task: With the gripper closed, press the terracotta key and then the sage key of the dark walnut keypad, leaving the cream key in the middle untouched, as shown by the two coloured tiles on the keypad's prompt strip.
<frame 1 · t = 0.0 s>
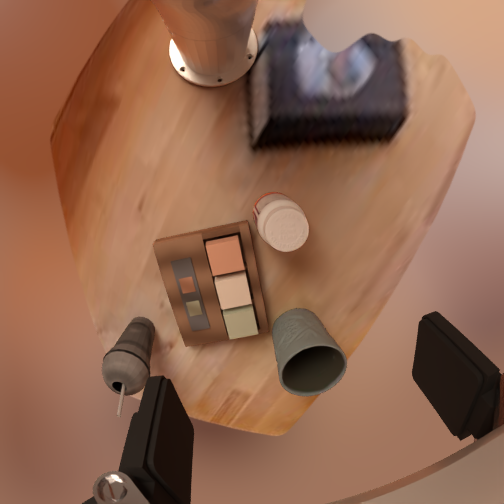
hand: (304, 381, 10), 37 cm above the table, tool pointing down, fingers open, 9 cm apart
key sage: (240, 321, 47), point 3 cm above the table, slide at 0.0 cm
key cream: (233, 290, 45), point 4 cm above the table, slide at 0.0 cm
grey green cup: (297, 328, 53), on the table
beverage cup: (142, 327, 50), on the table
pill bottle: (272, 211, 46), on the table
key terracotta: (225, 255, 43), point 3 cm above the table, slide at 0.0 cm
keypad board: (214, 284, 49), on the table
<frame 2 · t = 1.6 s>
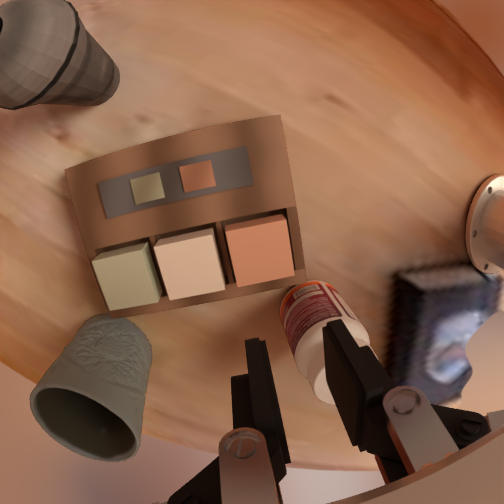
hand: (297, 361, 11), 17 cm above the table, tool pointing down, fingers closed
key sage: (127, 277, 24), point 3 cm above the table, slide at 0.0 cm
key cream: (190, 264, 24), point 3 cm above the table, slide at 0.0 cm
grey green cup: (116, 347, 30), on the table
beverage cup: (98, 82, 22), on the table
pill bottle: (309, 305, 30), on the table
key terracotta: (259, 250, 24), point 4 cm above the table, slide at 0.0 cm
keypad board: (186, 218, 26), on the table
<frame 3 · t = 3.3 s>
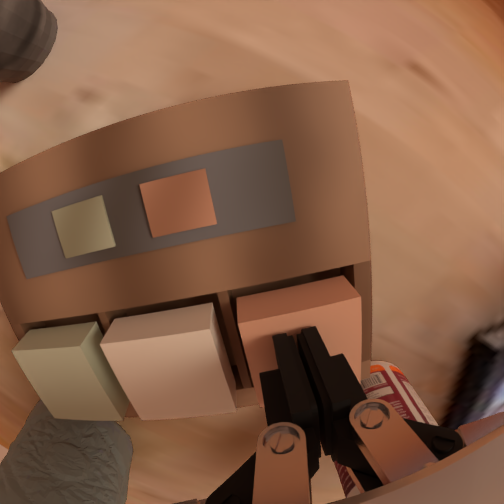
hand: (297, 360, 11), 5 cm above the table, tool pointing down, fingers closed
key sage: (71, 375, 12), point 4 cm above the table, slide at 0.0 cm
key cream: (173, 367, 12), point 3 cm above the table, slide at 0.0 cm
grey green cup: (85, 432, 19), on the table
beverage cup: (26, 45, 10), on the table
pill bottle: (359, 390, 18), on the table
key terracotta: (302, 344, 12), point 3 cm above the table, slide at 0.0 cm, touching gripper
keypad board: (166, 272, 15), on the table
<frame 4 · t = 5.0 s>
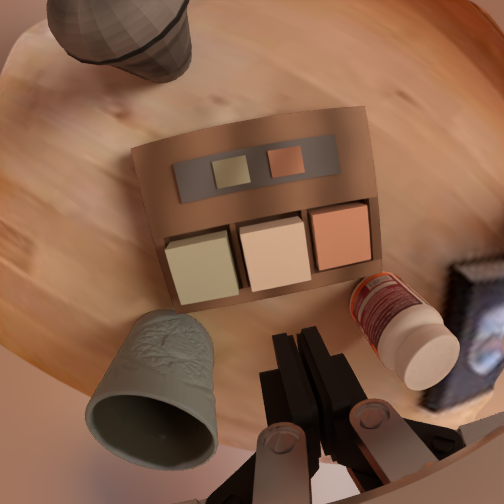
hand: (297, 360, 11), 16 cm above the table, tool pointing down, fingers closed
key sage: (203, 267, 23), point 3 cm above the table, slide at 0.0 cm
key cream: (275, 253, 23), point 3 cm above the table, slide at 0.0 cm
grey green cup: (172, 346, 30), on the table
beverage cup: (165, 59, 21), on the table
pill bottle: (375, 296, 29), on the table
key terracotta: (339, 234, 24), point 2 cm above the table, slide at 1.4 cm
keypad board: (264, 206, 26), on the table
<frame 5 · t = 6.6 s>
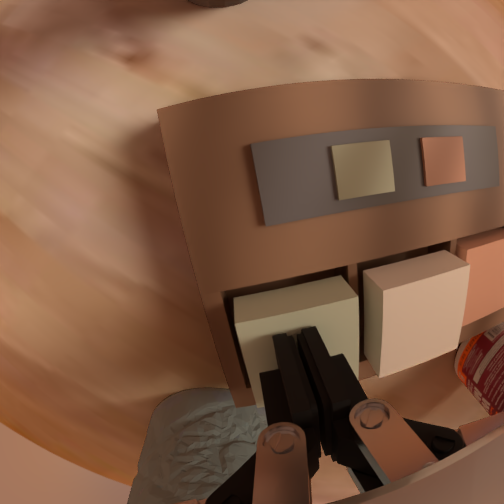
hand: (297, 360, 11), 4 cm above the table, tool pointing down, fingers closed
key sage: (299, 344, 12), point 3 cm above the table, slide at 0.1 cm, touching gripper
key cream: (416, 313, 12), point 3 cm above the table, slide at 0.0 cm
grey green cup: (214, 429, 19), on the table
pill bottle: (479, 342, 18), on the table
key terracotta: (480, 274, 14), point 2 cm above the table, slide at 1.4 cm
keypad board: (382, 229, 15), on the table
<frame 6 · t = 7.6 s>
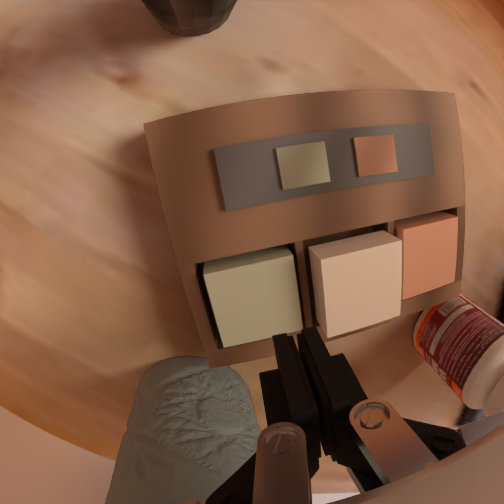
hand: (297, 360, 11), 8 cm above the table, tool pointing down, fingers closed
key sage: (254, 296, 17), point 2 cm above the table, slide at 1.3 cm
key cream: (357, 282, 16), point 4 cm above the table, slide at 0.0 cm
grey green cup: (195, 397, 22), on the table
beverage cup: (194, 6, 13), on the table
pill bottle: (437, 320, 23), on the table
key terracotta: (423, 253, 17), point 2 cm above the table, slide at 1.4 cm
keypad board: (329, 215, 18), on the table
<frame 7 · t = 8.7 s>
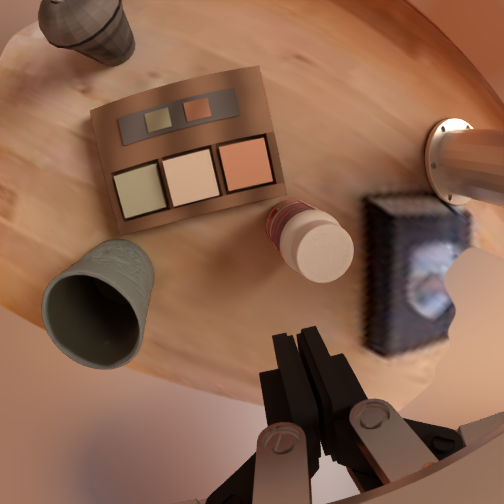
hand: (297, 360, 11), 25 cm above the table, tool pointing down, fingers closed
key sage: (141, 190, 30), point 2 cm above the table, slide at 1.3 cm
key cream: (191, 177, 29), point 3 cm above the table, slide at 0.0 cm
grey green cup: (121, 274, 35), on the table
beverage cup: (117, 49, 27), on the table
pill bottle: (291, 224, 36), on the table
key terracotta: (245, 163, 31), point 2 cm above the table, slide at 1.4 cm
keypad board: (187, 148, 31), on the table
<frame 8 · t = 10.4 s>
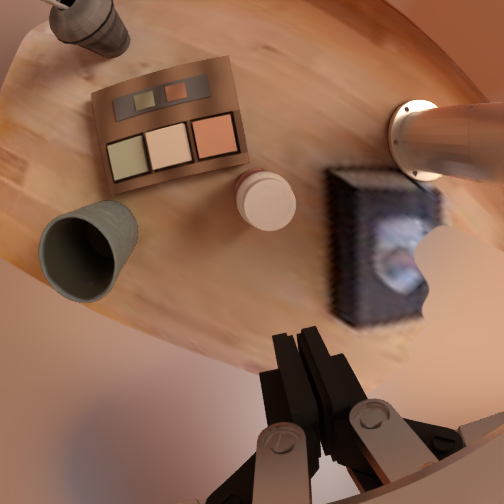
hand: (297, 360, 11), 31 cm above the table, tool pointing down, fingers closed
key sage: (129, 158, 35), point 2 cm above the table, slide at 1.3 cm
key cream: (168, 146, 34), point 3 cm above the table, slide at 0.0 cm
grey green cup: (111, 231, 40), on the table
beverage cup: (115, 44, 32), on the table
pill bottle: (257, 190, 40), on the table
key terracotta: (214, 136, 35), point 2 cm above the table, slide at 1.4 cm
keypad board: (169, 125, 36), on the table
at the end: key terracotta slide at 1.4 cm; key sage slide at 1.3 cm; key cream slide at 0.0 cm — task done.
